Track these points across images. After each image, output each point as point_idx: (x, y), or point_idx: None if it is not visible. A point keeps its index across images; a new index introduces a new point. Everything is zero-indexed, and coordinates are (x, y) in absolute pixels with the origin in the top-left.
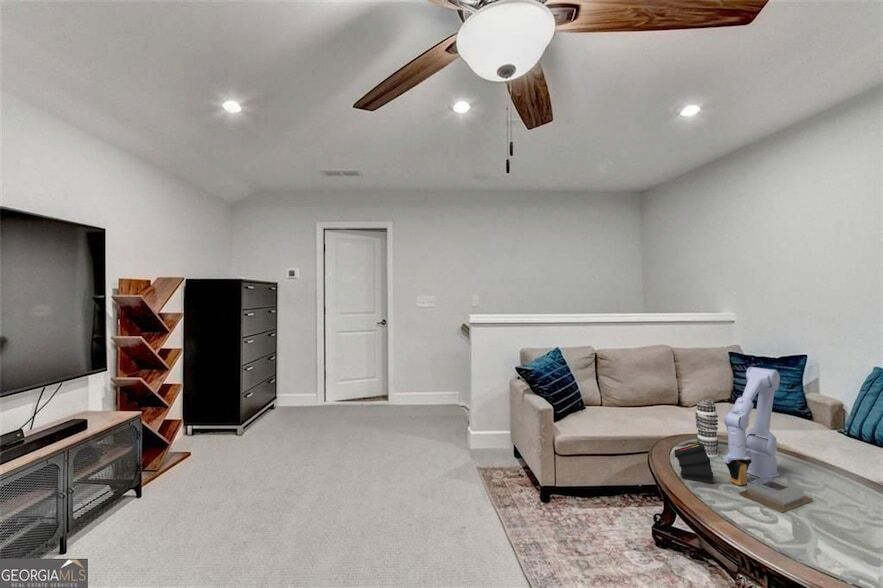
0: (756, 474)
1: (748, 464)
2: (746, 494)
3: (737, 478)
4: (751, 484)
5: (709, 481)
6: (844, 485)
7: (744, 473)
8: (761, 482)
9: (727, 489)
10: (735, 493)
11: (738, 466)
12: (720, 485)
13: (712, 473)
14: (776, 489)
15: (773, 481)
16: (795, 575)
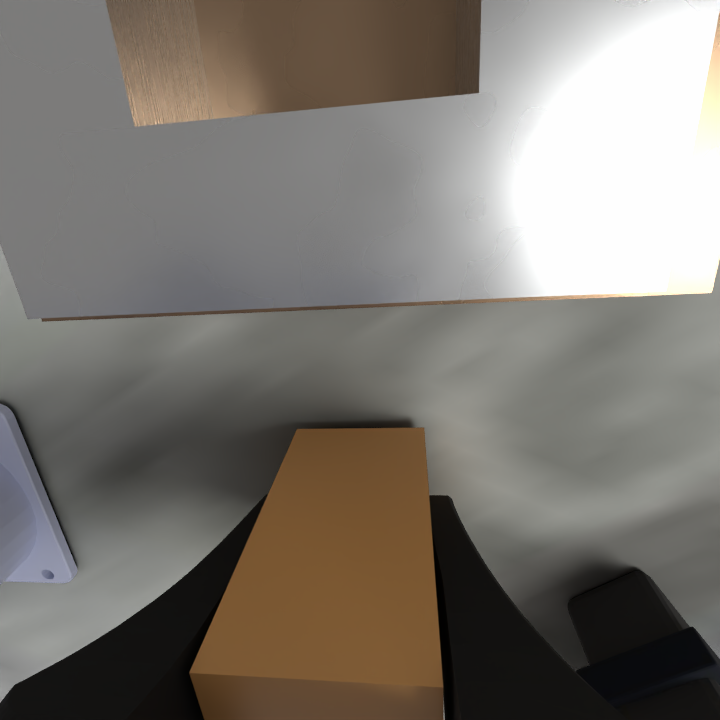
0: (22, 500)
1: (135, 650)
2: (701, 203)
3: (440, 502)
4: (677, 195)
5: (671, 607)
6: None
7: (313, 522)
8: (388, 165)
9: (639, 437)
10: (678, 334)
11: (553, 701)
12: (596, 520)
13: (645, 694)
14: (181, 42)
15: (94, 96)
16: None
